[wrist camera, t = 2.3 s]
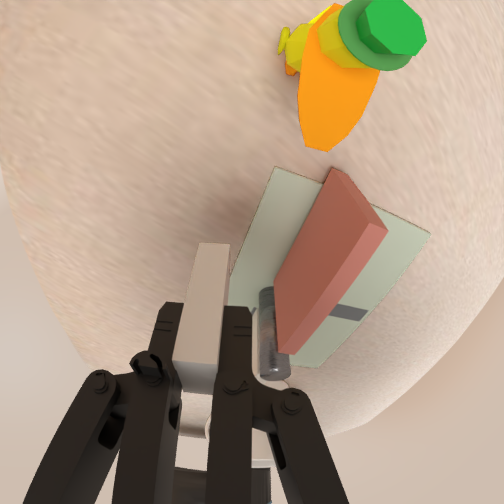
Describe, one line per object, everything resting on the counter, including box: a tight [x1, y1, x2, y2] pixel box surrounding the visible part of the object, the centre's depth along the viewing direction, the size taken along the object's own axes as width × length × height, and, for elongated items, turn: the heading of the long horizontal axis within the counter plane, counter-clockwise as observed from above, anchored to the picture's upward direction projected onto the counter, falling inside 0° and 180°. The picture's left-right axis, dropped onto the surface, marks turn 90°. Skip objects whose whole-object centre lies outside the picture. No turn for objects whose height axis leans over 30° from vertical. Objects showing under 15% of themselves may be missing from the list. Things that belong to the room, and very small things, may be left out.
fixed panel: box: [252, 308, 267, 385], centre depth 26 cm, size 9×1×7 cm, turn 161°
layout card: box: [227, 166, 431, 368], centre depth 25 cm, size 22×15×1 cm
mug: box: [205, 380, 289, 468], centre depth 32 cm, size 12×8×12 cm
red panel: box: [273, 168, 389, 355], centre depth 17 cm, size 10×1×7 cm, turn 161°
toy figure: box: [278, 0, 427, 152], centre depth 9 cm, size 7×4×12 cm, turn 168°
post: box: [259, 286, 291, 381], centre depth 21 cm, size 2×2×8 cm
